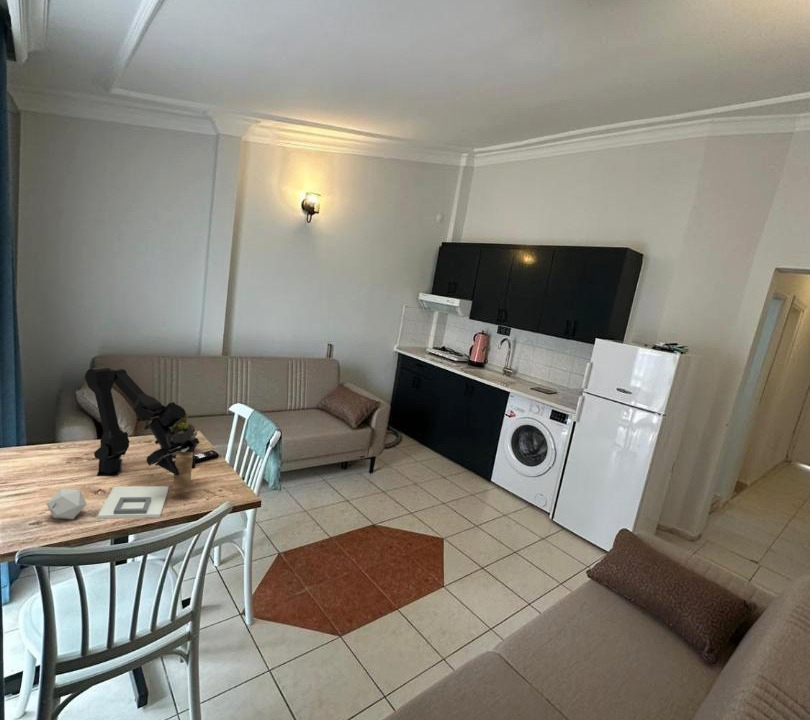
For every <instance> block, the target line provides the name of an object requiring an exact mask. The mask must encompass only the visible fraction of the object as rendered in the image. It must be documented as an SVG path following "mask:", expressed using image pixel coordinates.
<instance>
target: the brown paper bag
mask: <svg viewBox="0 0 810 720" xmlns="http://www.w3.org/2000/svg"><path fill="white" fill-rule="evenodd" d="M193 453H194V452H177V455H176V457H175V460H174V461H175V462H174V464H175V466H176V467H177V469H178V471H179V475H178V476H176V475H175V474H173V482H172V483H173V484H172V493H177V492H178V493H185V492H186V493H187V492H188V493H189V492H190V487H191V481H192V480H191V478H192V470H193V469H192V461H193Z"/></svg>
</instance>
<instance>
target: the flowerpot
mask: <svg viewBox="0 0 810 720" xmlns="http://www.w3.org/2000/svg"><path fill="white" fill-rule="evenodd" d="M183 409H184V410H185V413H186V415H185V417H184V418H183V419H182V420H180V421H179V422H178V423H177V424H175V425H174V426H172V427H171V428H172V430H173V431H175V430H176V431H177V432H178V433H181V432H183V430H184V429H186V428H189V427H190V428H191V429H192V430H193V432H194V435H193V436H191V437H192V438H194V437H195V438H197V435H198V430H197V428H195V426H194V425H193V424H191V423H188V419H189V417H188V414H189V413H188V412H187V410H186V409H185V408H183ZM186 441H187V440H186ZM182 444H183V443H182ZM182 444H181V445H182ZM159 448H160V449H162V448H161V446H159ZM176 450H177V449H176ZM170 452H171V451H170ZM179 452H181V451H179ZM176 455H177V452H176V453H173V454H172V458H176Z"/></svg>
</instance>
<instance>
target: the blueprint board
mask: <svg viewBox="0 0 810 720" xmlns="http://www.w3.org/2000/svg"><path fill="white" fill-rule="evenodd" d="M169 489H170V486H167V485H166V486H164V485H163V486H157V485H155V486H150V485H149V486H146V485H145V486H137V485H135V486H113V488H112V490H111V491H110V492H109V495H108V496H107V498H106V500H105V502H104V503H103V506H102V507H101V509H100V510H99V512H98V514H97V517H96V518H97V520H99V519H102V520H103V519H104V520H105V519H137V518H138V519H140V518H141V519H144V518H146V519H147V518H161V515H162V512H163V508H164V506H165V502H166V500H167V496H168V493H169Z"/></svg>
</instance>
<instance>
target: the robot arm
mask: <svg viewBox="0 0 810 720" xmlns="http://www.w3.org/2000/svg"><path fill="white" fill-rule="evenodd" d="M84 379H85V382H86V385H87V387H88V388H89V390H90V391H92V392H93V393H94V395H95V399H96V404H97V405H96V406H97V409H98V413H99V418H100V422H101V426H102V432H103V433H102V436H101V438H100V447H99V448H98V449H96V450H95V451H94V452H93V455H94V458H95V459H96V460H98V471H97V473H96V476H98V477H99V476H102V477H103V476H116V477H117V476H118V475H119V474H120V472H121V471H122V468H123V459H122V456H125V455H126V454H127V450H128V449H129V447H130V443H131V441H130V440H129V435H128V432H127V431H125V432H124V431H122V429H120V428H121V427H120V426H119V421H118V415H117V411H116V407H115V402H114V398H113V392H112V389H113V386H114V385H116V387H117V388H118V389H119V390H120V391H121V392H122V393H123V394H124V396H126V398H127V399H128V400H130V402H131V403H132V405H133V411H134V412H135V414H136V415H137V417H138V418H139V419H140V420H144V421H146V420H148V421H146V422H145V426H144V430H149V429H150V431H151V432H152V434H153V437H154V438H155V439H156V440H155V441H154V443H155V445H158V444H159V447H161V448H162V449H161V448H160V449H157V450H154V451H153V452H151V453H150V454H149V455H148V456H146V463H147V464H148V466H152V465H155V466H159V468H160V467H161V468H163V469H164V470H166V471H168V472H169V473H171V474H173V475H174V474H175V475H176V476H178V475H179V471H178V469H177V467H176V466H175V462H174V460H173V457H172V454H173V453H176V452H179V451H181V452H193V461H192V470H194V469H195V468H196V463H195V462H196V461H195V456H194V452H195V448H197V446H198V445H199V444H201V442H200V440H199V439H198V437H194V438H192V437H191V436H193V435H194V432H193V430H192V429H191V428H190V427H189V428H186V429H184V430H183V432H181V433H178V432H177V431H176V430H175V431H173V430H172V428H171V427H172V426H174V425H175V424H177V423H178V422H179V421H180V420H182V419H183V418H184V417H185V415H186V413H187V412H186V413H185V411H186V409H185V408H184V407H182V405H181V406H180V405H179V404H177V403H175V401H173V402H169V403H167V405H166V406H165V405H163V404H162V403H161V402H160V401H158V400H157V398H155V397H152V396H150V395H149V394H146V393H145V392H144V391H143V390H142V389H141V387H140V386H139V385H138V384H137V383H136V382H135V381H134V380H133V379H132V378H131V376H129V374H128V373H127V370H125V369H123V368H113V369H111V368H110V367H109V366H108V367H107V366H106V367H105V366H104V367H97V368H96V367H95V368H90V369H89V368H88V369H87V371H86V372H85V375H84ZM184 409H185V410H184ZM150 419H151V420H150ZM186 440H187V441H186ZM182 443H183V444H182ZM181 444H182V445H181ZM176 449H177V450H176ZM170 451H171V452H170Z"/></svg>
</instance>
